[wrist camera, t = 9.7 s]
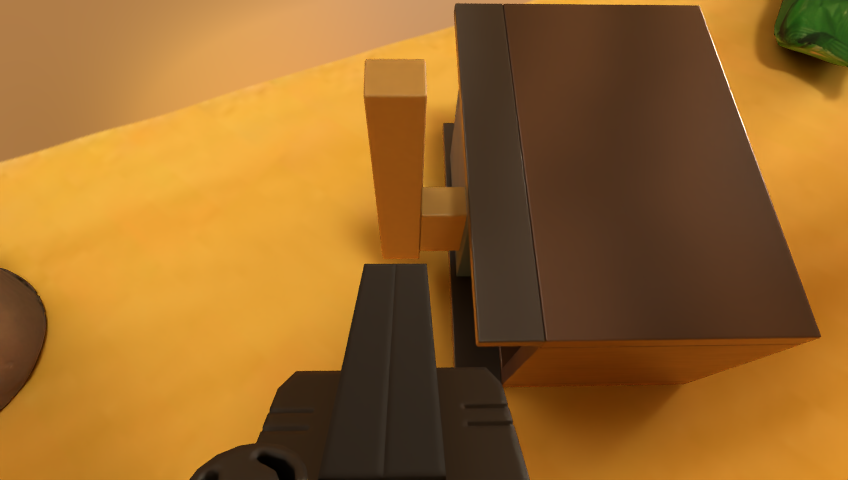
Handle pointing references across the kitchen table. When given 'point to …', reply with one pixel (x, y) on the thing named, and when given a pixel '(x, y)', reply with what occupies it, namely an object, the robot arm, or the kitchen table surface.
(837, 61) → the snack package
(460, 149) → the sliding door
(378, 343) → the robot arm
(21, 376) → the pillar candle
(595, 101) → the box
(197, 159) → the kitchen table surface
